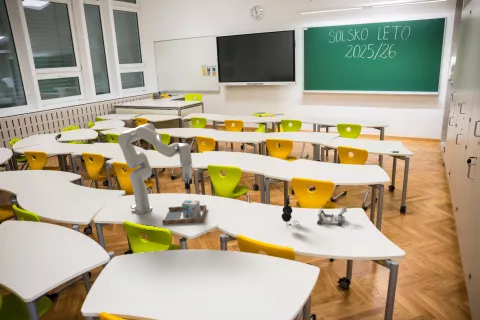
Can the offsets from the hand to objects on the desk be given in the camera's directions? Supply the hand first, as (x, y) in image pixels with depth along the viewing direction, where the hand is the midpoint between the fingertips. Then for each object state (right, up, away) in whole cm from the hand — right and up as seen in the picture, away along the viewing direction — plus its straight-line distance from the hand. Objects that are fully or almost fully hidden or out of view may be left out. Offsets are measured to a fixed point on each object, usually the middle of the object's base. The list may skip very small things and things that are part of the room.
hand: (188, 186), depth 227 cm
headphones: (+67, -24, -16) cm, 73 cm away
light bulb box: (+1, -21, +6) cm, 22 cm away
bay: (-4, -21, +7) cm, 23 cm away
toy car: (+93, -22, -13) cm, 96 cm away
